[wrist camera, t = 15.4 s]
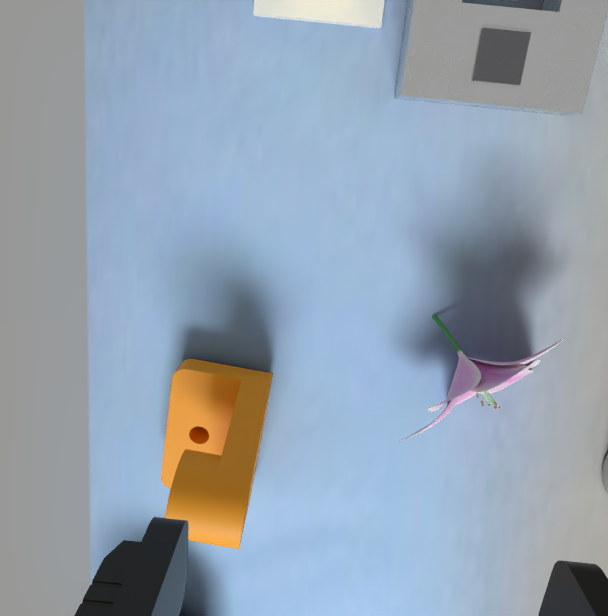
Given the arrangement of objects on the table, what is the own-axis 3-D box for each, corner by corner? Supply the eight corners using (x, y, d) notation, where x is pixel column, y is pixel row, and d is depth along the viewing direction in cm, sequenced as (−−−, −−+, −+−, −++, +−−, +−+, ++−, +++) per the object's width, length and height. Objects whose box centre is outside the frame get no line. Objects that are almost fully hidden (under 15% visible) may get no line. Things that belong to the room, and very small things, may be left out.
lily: (364, 399, 43) (421, 502, 36) (366, 288, 35) (439, 392, 28) (492, 358, 45) (568, 447, 38) (520, 245, 37) (622, 332, 30)
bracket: (182, 352, 41) (128, 436, 29) (273, 368, 41) (254, 459, 30) (169, 466, 44) (115, 581, 33) (253, 481, 44) (229, 601, 33)
